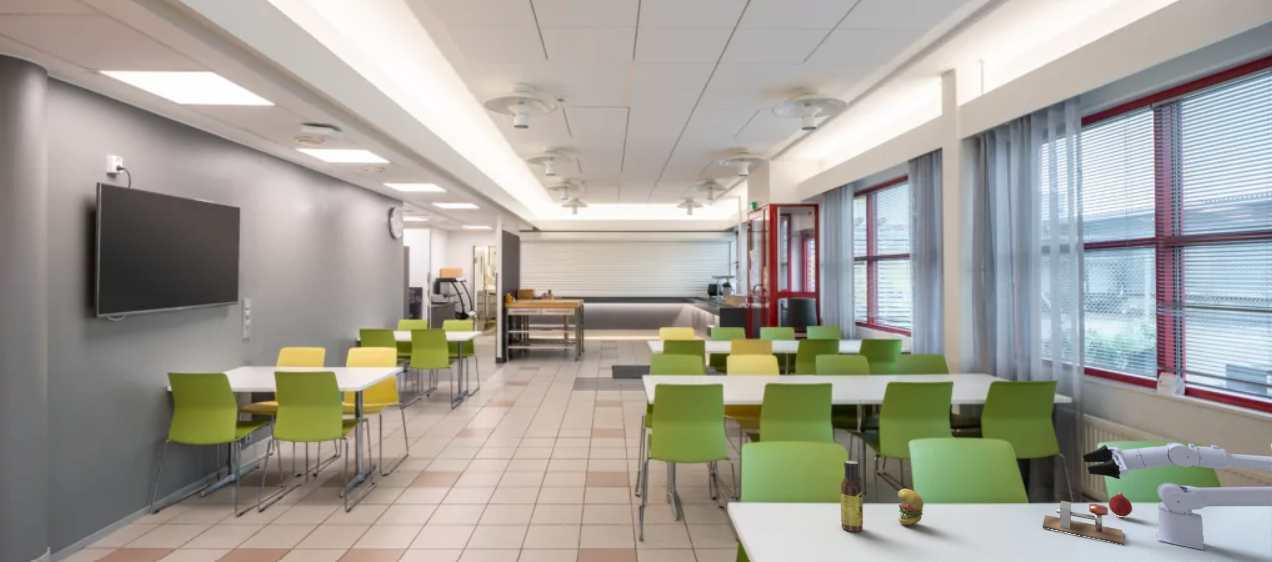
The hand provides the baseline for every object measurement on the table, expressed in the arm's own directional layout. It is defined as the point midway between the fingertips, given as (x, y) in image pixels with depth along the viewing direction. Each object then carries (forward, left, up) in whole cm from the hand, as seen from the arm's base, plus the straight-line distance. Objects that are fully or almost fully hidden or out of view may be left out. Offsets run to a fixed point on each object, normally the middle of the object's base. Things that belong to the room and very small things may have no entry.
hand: (1085, 464), depth 182 cm
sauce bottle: (+56, +50, -19) cm, 77 cm away
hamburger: (+43, +35, -19) cm, 58 cm away
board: (+1, +6, -19) cm, 20 cm away
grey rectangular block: (+5, +6, -19) cm, 20 cm away
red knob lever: (+1, +6, -18) cm, 19 cm away
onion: (-8, -16, -19) cm, 26 cm away
